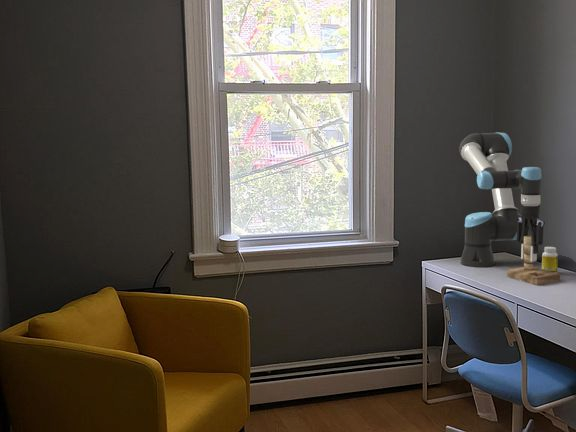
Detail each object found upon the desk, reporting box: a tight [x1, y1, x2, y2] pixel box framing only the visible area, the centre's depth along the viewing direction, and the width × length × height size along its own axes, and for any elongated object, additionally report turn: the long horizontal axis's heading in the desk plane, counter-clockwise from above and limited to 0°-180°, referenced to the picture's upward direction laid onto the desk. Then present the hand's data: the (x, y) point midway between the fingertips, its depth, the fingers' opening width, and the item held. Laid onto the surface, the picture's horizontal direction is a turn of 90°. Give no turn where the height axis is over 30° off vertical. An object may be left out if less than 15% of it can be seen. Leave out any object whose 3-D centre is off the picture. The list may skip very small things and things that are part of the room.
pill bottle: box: [541, 246, 559, 273], centre depth 264 cm, size 6×6×11 cm
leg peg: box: [523, 235, 535, 270], centre depth 259 cm, size 4×4×14 cm
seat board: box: [506, 266, 561, 286], centre depth 256 cm, size 16×13×3 cm
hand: (528, 259), depth 259 cm, fingers closed on leg peg, 4 cm apart
